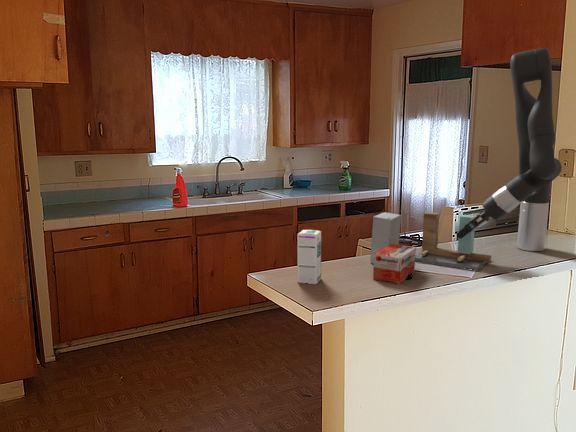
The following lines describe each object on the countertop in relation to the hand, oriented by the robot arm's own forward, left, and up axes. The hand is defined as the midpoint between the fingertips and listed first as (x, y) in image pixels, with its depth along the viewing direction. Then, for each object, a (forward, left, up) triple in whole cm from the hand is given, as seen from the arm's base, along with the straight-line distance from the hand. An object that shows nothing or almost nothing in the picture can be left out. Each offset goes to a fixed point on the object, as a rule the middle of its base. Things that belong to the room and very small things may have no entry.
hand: (461, 234), depth 177 cm
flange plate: (+2, -3, -9) cm, 9 cm away
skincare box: (+17, -20, -9) cm, 27 cm away
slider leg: (+2, +1, -7) cm, 8 cm away
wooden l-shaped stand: (+2, -2, -8) cm, 8 cm away
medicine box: (+29, -11, -9) cm, 32 cm away
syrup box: (+48, -30, -9) cm, 57 cm away
